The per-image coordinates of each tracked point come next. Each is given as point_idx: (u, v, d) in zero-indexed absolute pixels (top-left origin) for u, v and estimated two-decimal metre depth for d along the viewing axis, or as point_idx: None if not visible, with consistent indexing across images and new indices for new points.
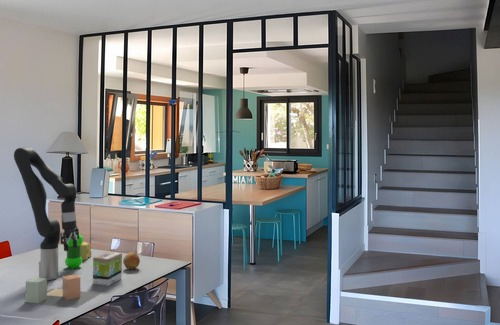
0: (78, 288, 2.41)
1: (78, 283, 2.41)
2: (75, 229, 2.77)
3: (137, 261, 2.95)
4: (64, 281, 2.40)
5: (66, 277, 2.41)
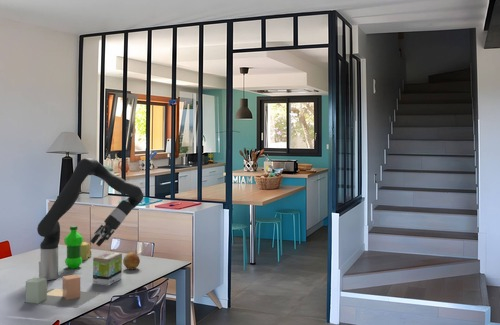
0: (78, 288, 2.41)
1: (78, 283, 2.41)
2: None
3: (137, 261, 2.95)
4: (64, 281, 2.40)
5: (66, 277, 2.41)
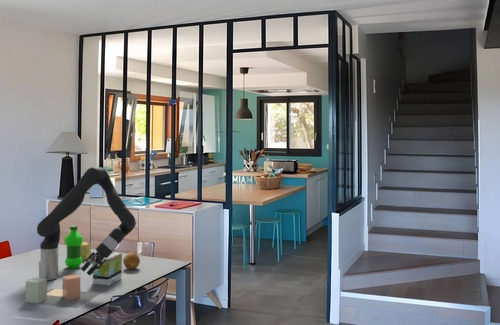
0: (78, 288, 2.41)
1: (78, 283, 2.41)
2: None
3: (137, 261, 2.95)
4: (64, 281, 2.40)
5: (66, 277, 2.41)
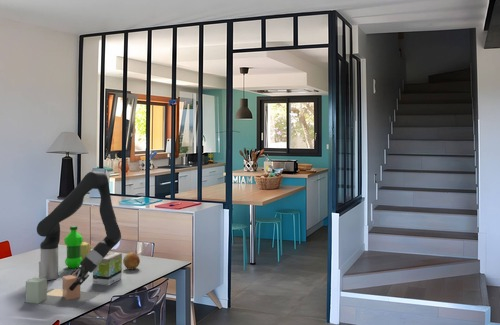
0: (78, 288, 2.41)
1: None
2: None
3: (137, 261, 2.95)
4: (64, 281, 2.40)
5: (66, 277, 2.41)
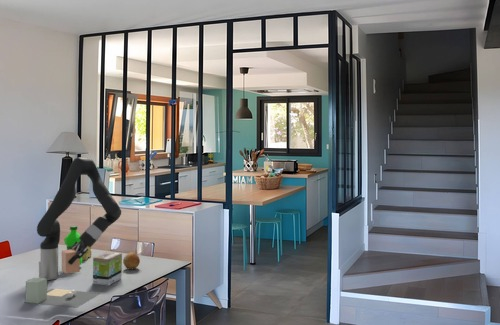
0: (77, 262, 2.41)
1: None
2: None
3: (137, 261, 2.95)
4: (63, 255, 2.40)
5: (65, 251, 2.41)
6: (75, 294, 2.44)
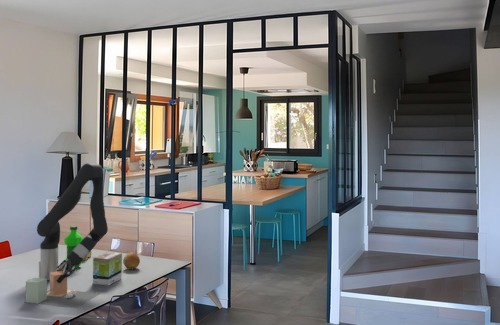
0: (65, 284, 2.47)
1: (65, 279, 2.47)
2: None
3: (137, 261, 2.95)
4: (51, 277, 2.46)
5: (53, 273, 2.47)
6: (75, 294, 2.44)
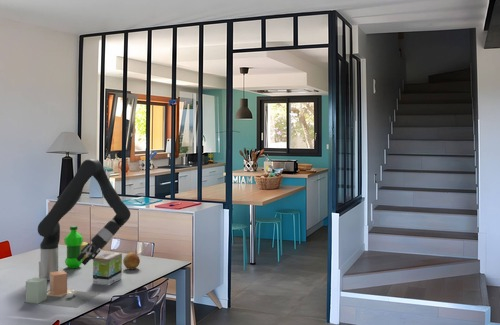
0: (65, 284, 2.47)
1: (65, 279, 2.47)
2: None
3: (137, 261, 2.95)
4: (51, 277, 2.46)
5: (53, 273, 2.47)
6: (75, 294, 2.44)
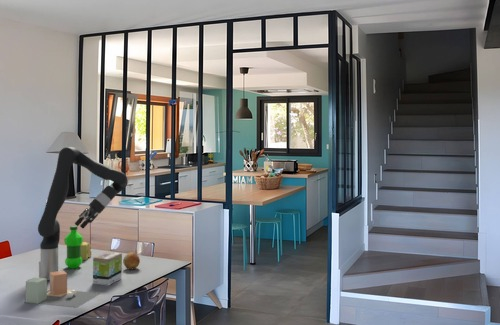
0: (65, 284, 2.47)
1: (65, 279, 2.47)
2: None
3: (137, 261, 2.95)
4: (51, 277, 2.46)
5: (53, 273, 2.47)
6: (75, 294, 2.44)
